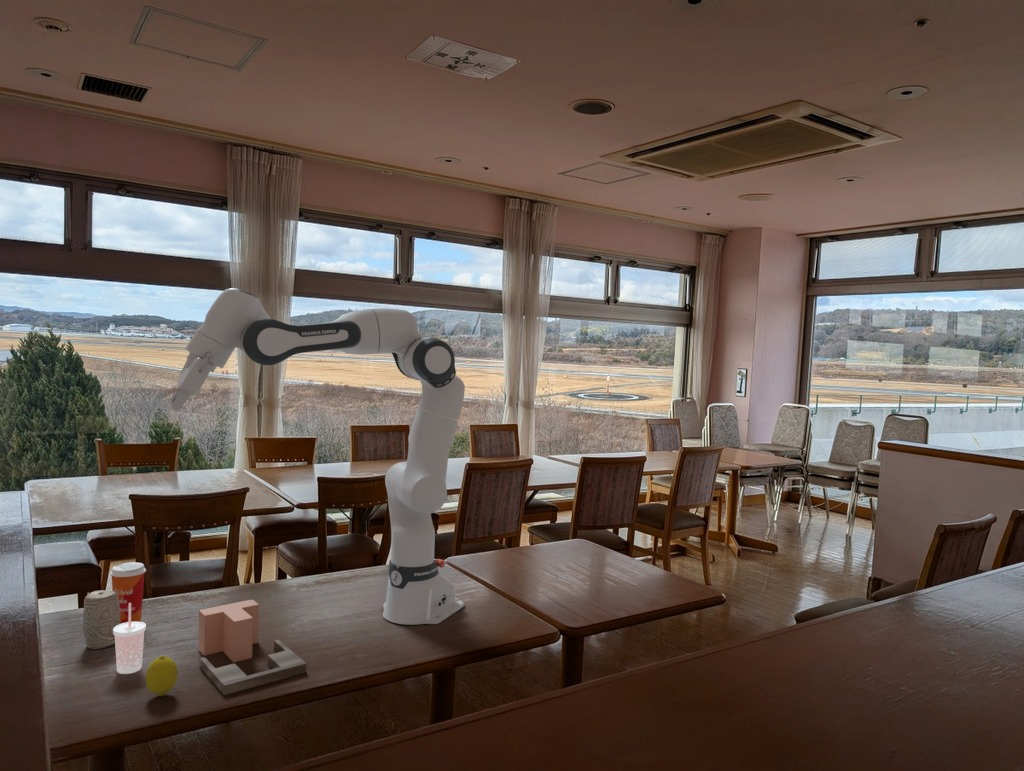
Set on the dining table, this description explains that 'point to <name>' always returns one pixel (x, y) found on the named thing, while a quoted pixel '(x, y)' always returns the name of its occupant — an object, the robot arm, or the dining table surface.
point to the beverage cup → (129, 645)
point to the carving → (100, 618)
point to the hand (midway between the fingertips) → (174, 406)
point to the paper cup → (129, 589)
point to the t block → (229, 629)
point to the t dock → (237, 680)
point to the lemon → (161, 675)
